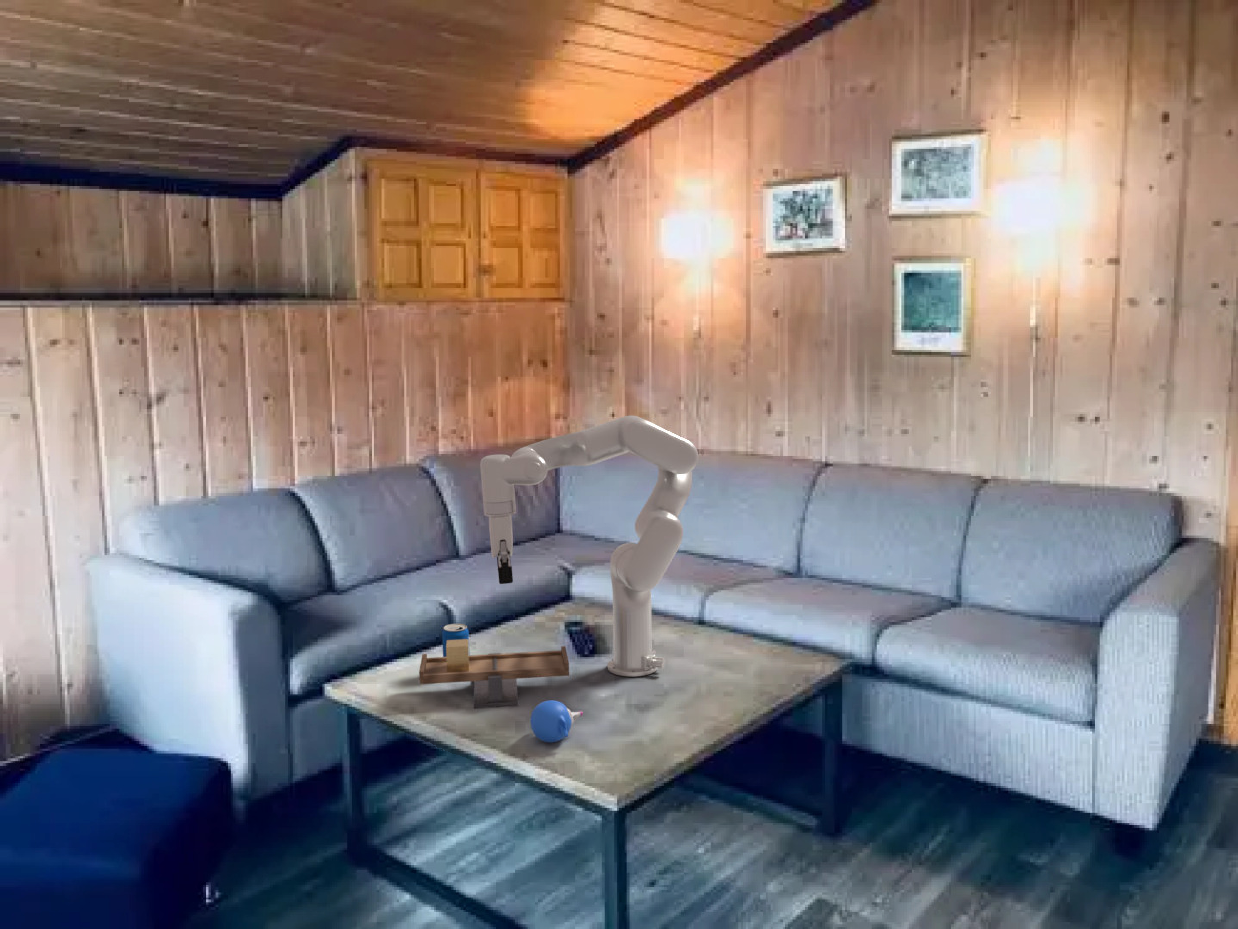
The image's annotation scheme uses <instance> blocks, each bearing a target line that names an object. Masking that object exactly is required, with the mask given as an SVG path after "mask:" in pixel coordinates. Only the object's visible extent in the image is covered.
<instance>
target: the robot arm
mask: <svg viewBox="0 0 1238 929" xmlns="http://www.w3.org/2000/svg"><path fill="white" fill-rule="evenodd" d="M628 453H631V454H633V455H635V456H637V457H639V458H640V459H643V460H645V461H647V462H649V463H651V464H653V465H655V466H657V469H658V477H657V480H656V483H655V485H654V487H653V488H652V492H651V494H650V495H649V497H648V499H647V501H646V502H645V504H644V506H643V507H642V508H641V510H640V511H639V512H640V513H639V514H638V516H637V517H636V520H635V522H634V531H635V534H636V536H637V537H638V539H639V540H638V542H637V543H634V542H626V543H623V544H621V545H619V546H617V547H616V548H615V549H614V550H613V552H612V554H611V557H610V562H609V572H610V579H611V588H612V590H611V591H612V630H613V632H612V633H613V634H612V636H613V639H612V640H613V642H612V643H613V649H612V650H613V659H611V660H609V661H608V662H607V670H608V671H609V672H610V673H612V674H614V675H616V676H617V675H618V676H621V677H644V676H648V675H651V674H654V673H655V672H657V670H658V669H664V668H665V667H666V658H665V657H662V656H661V657H660V656H657V655H656V654H657V653H656V649H652V648H653V647H652V646H653V644H652V641H653V640H652V638H653V637H652V590H653V589H654V588H655V587H656V586H657V585H658V584H659V582H661V579H662V578H663V576H664V575H665V573H666V571H667V570H668V569H669V566H670V564H671V563H672V560H673V559H674V558H675V556H676V553H677V552H678V550H679V548H680V546H681V544H682V541H683V536H684V528H683V525H682V522H681V521H680V519H679V516H680V514H681V513H682V511H683V508H684V506H685V504H686V503H687V501H688V498H689V495H690V493H691V492H692V491H691V490H692V484H693V470H694V469H695V468H696V466H697V464H698V462H699V452H698V449H697V447H696V445H695V444H693V442H691V441H690V440H688V439H685V438H683V437H681V436H679V435H677V434H676V433H673V432H671V431H669V430H666V429H664V428H662V427H660V426H659V425H657V424H655V423H653V422H651V421H649V420H647V419H644V418H642V417H639V416H638V415H626V416H622V417H619V418H615V419H613V420H609V421H607V422H603V423H601V424H598V425H596V426H595V425H594V426H592V427H589V428H585V429H583V430H580V431H576V432H571V433H567V434H563V435H560V436H559V435H558V436H556V437H551V438H548V439H547V438H546V439H544V440H541V441H538V442H535V443H532V444H529V445H526V446H523V447H521V448H519V449H517V450H515V451H514V452H513V453H512V455H511V456H510V455H508V454H499V453H498V454H491V455H490V454H489V455H486V456H484V457H482V458H481V459H480V463H479V464H480V477H481V489H482V492H481V493H482V504H483V513H484V514H483V515H484V516H485V517H488V526H489V528H488V530H489V539H490V540H489V542H490V549H491V550H490V552H491V557H492V558H493V559H495V558H496V562H497V572H498V573H497V575H498V583H499V585H506V584H512V583H513V582H514V578H513V577H514V576H513V565H512V562H511V560H512V559H511V557H512V556H513V544H514V543H513V541H514V540H513V539H514V538H513V519H512V518H513V517H512V515H515V514H516V513H517V505H516V504H517V503H516V492H515V486H518V485H519V486H535V485H538V484H540V483H542V482H544V480H545V479H546V477H547V475H548V471H550V470H554V469H558V468H563V467H570V466H574V467H585V466H592V465H596V464H598V463H600V462H601V463H602V462H604V461H606V460H610V459H613V458H616V457H618V456H622V455H625V454H628Z"/></svg>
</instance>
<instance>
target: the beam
mask: <svg viewBox="0 0 1238 929" xmlns="http://www.w3.org/2000/svg"><path fill="white" fill-rule="evenodd" d="M560 647H561V648H560V649H561V650H545V651H544V650H542V651H530V652H529V651H527V652H508V653H507V652H506V653H501V654H494V653H488V654H475V655H474V654H473V655H471V654H470V655H469V671H459V672H447V657H443V656H437V657H435V656H434V657H428V655H427V653H422V654H421V660H420V665H419V671H418V676H419V685H432V684H446V683H447V684H449V683H450V684H451V683H465V682H466V683H467V682H474V681H485V680H488V676H492V675H502V680H503V679H516V680H517V679H533V678H534V679H535V678H551V677H569V676H570V662H569V657H568V653H567V652H568V651H567V648H566V646H565V645H564V646H563V645H561V646H560Z"/></svg>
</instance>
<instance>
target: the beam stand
mask: <svg viewBox="0 0 1238 929" xmlns="http://www.w3.org/2000/svg"><path fill="white" fill-rule="evenodd" d="M493 654H502V653H501V652H498V653H497V652H496V653H495V652H494V653H493ZM473 682H474V684H473V686H474V687H473V709H474V710H475V709H491V708H508V707H509V708H510V707H518V706H519V699H518V685H517V682H518V681H517V679H503V680H502V675H492V676H488V680H485V681H473Z"/></svg>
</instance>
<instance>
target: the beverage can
mask: <svg viewBox="0 0 1238 929" xmlns="http://www.w3.org/2000/svg"><path fill="white" fill-rule="evenodd" d="M469 631H470V630H469V629H468V626H467V625H466V624H464V623H450V624H446V625H445V626H443V630H442V632H441V634H442V636H441V637H442V640H441V641H442V642H441V643H442V657H446V644H447V640H462V639H468V641H469V642H470V634H469V633H470V632H469ZM469 655H471V654H470V651H469Z"/></svg>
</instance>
